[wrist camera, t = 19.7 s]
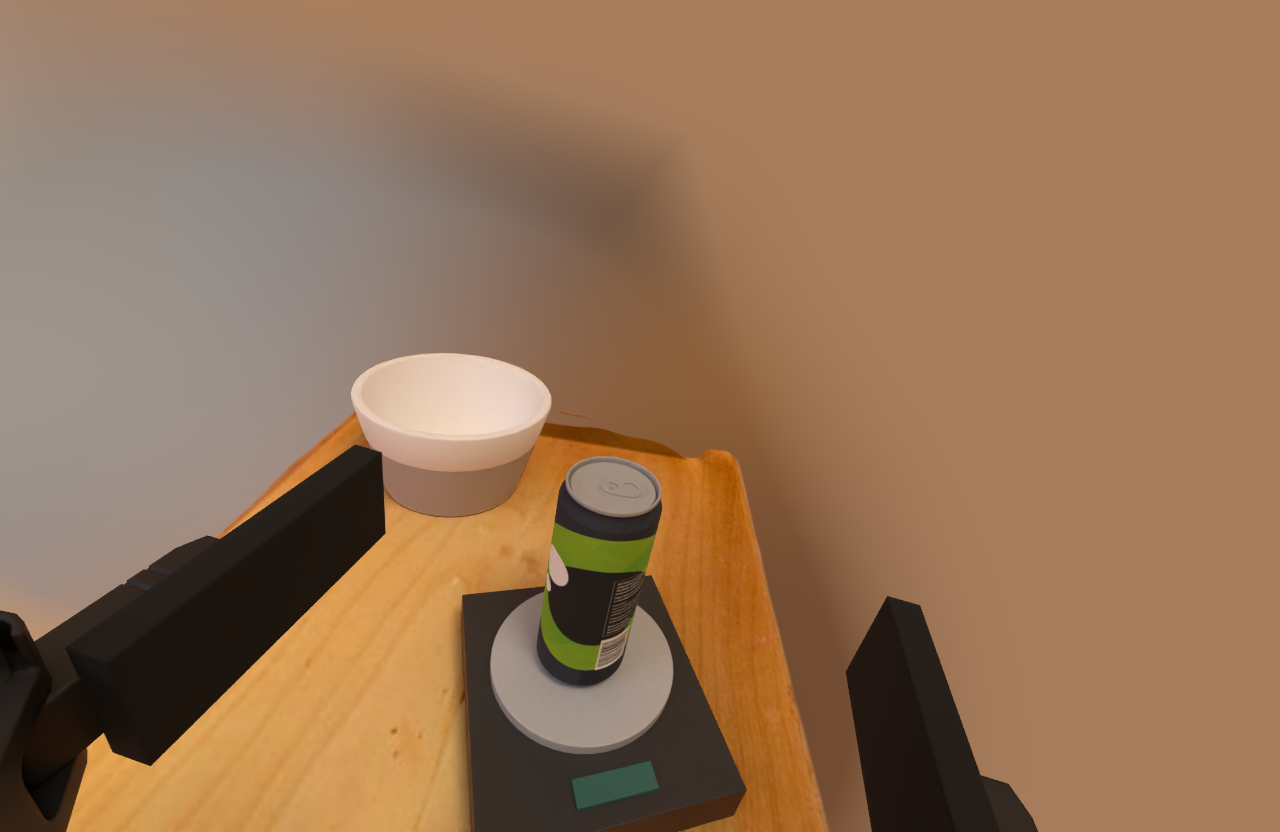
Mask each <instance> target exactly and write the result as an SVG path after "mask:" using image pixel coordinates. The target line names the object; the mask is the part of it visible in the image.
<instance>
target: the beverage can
mask: <svg viewBox="0 0 1280 832" xmlns="http://www.w3.org/2000/svg"><path fill="white" fill-rule="evenodd" d="M661 494H662V490H661V486H660V483H659V481H658V480H657V478H656V477H655V476H654V475H653V474H652V473H651V472H650V471H649V470H647V469H646V468H644V467H643V466H641V465H639V464H637V463H635V462H632V461H630V460H626V459H623V458H618V457H611V456H596V457H590V458H586V459H583V460H580V461H578V462H577V463H575V464H574V465H573V466H571V468H570V469H569V470H568V472H567V475H566V479H565V480H564V482H563V483H562V485H561V487H560V490H559V496H558V503H557V509H556V516H555V523H554V529H553V536H552V543H551V550H550V556H549V563H548V570H547V577H546V583H545V590H544V597H543V604H542V610H541V617H540V624H539V630H538V637H537V653H538V656H539V659H540V661H541V663H542V665H543V666H544V668H545V669H546V670H547V671H548V672H549V673H550V674H551V675H552V676H554V677H555V678H557V679H558V680H560V681H562V682H565V683H568V684H571V685H577V686H587V685H593V684H597V683H600V682H602V681H604V680H606V679H608V678H609V677H610V676H612V675H613V674H614V673H615V672H616V671H617V669H618V668H619V666H620V665H621V663H622V660H623V657H624V653H625V649H626V646H627V642H628V638H629V634H630V630H631V626H632V623H633V619H634V615H635V611H636V607H637V604H638V600H639V596H640V592H641V588H642V585H643V581H644V577H645V573H646V569H647V566H648V562H649V558H650V554H651V550H652V547H653V543H654V539H655V535H656V531H657V528H658V524H659V520H660V516H661V512H662V503H661V499H660V498H661Z"/></svg>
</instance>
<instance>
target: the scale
mask: <svg viewBox="0 0 1280 832" xmlns="http://www.w3.org/2000/svg"><path fill="white" fill-rule="evenodd" d="M544 590H545V586H544V587H535V588H525V589H515V590H506V591H496V592H487V593H477V594H467V595H462V612H461V632H462V653H463V674H464V695H465V716H466V737H467V759H468V780H469V801H470V822H471V832H678V831H682V830H685V829H689V828H692V827H695V826H699V825H702V824H705V823H709V822H712V821H715V820H719V819H722V818H726V817H729V816H732V815H734V813H735V811H736V810H737V808H738V806H739V804H740V802H741V800H742V798H743V796H744V794H745V792H746V787H745V785H744V783H743V780H742V778H741V776H740V774H739V771H738V769H737V767H736V765H735V762H734V760H733V758H732V756H731V753H730V751H729V749H728V747H727V744H726V742H725V740H724V738H723V735H722V733H721V731H720V729H719V726H718V724H717V722H716V720H715V717H714V715H713V713H712V711H711V708H710V706H709V704H708V702H707V699H706V697H705V695H704V693H703V690H702V688H701V686H700V684H699V681H698V679H697V677H696V675H695V672H694V670H693V668H692V666H691V663H690V661H689V659H688V657H687V654H686V652H685V650H684V648H683V645H682V643H681V641H680V639H679V636H678V634H677V632H676V630H675V627H674V625H673V623H672V621H671V618H670V616H669V614H668V612H667V609H666V607H665V605H664V603H663V600H662V598H661V596H660V594H659V591H658V589H657V587H656V585H655V582H654V580H653V578H652V576H651V575H650V576H645V577H644V581H643V585H642V588H641V592H640V596H639V600H638V604H637V607H636V611H635V615H634V619H633V623H632V626H631V630H630V634H629V638H628V642H627V646H626V649H625V653H624V657H623V660H622V663H621V665H620V666H619V668H618V669H617V671H616V672H615V673H614V674H613V675H612V676H610V677H609V678H608V679H606V680H604V681H602V682H600V683H597V684H593V685H587V686H577V685H571V684H568V683H565V682H562V681H560V680H558V679H557V678H555V677H554V676H552V675H551V674H550V673H549V672H548V671H547V670H546V669H545V668H544V666H543V665H542V663H541V661H540V659H539V656H538V653H537V637H538V630H539V624H540V617H541V610H542V604H543V597H544Z"/></svg>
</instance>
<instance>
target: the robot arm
mask: <svg viewBox="0 0 1280 832" xmlns="http://www.w3.org/2000/svg"><path fill="white" fill-rule="evenodd" d="M384 534H385V510H384V488H383V465H382V452H380V451H376V450H372V449H369V448H365V447H362V446H358V445H354V446H353V447H351V448H350V449H348V450H347V451H345V452H344V453H343V454H341V455H340V456H338V457H337V458H335V459H334V460H333V461H331V462H330V463H328V464H327V465H325V466H324V467H323V468H321V469H320V470H318V471H317V472H315V473H314V474H313V475H311V476H310V477H308V478H307V479H305V480H304V481H303V482H301V483H300V484H298V485H297V486H295V487H294V488H292V489H291V490H290V491H288V492H287V493H285V494H284V495H282V496H281V497H280V498H278V499H277V500H275V501H274V502H272V503H271V504H270V505H268V506H267V507H265V508H264V509H262V510H261V511H260V512H258V513H257V514H255V515H254V516H252V517H251V518H250V519H248V520H247V521H245V522H244V523H242V524H241V525H240V526H238V527H237V528H235V529H234V530H232V531H231V532H230V533H228V534H227V535H225V536H224V537H222V538H221V539H217V538H214V537H211V536H205V537H202V538H200V539H197V540H195V541H193V542H190V543H187V544H185V545H183V546H180V547H177V548H175V549H174V550H172V551H171V552H169V553H168V554H167V555H165V556H163V557H162V558H160V559H159V560H157V561H156V562H154V563H153V564H151V565H150V566H149V568H148V569H147V570H142V571H141V572H139V573H138V574H136V575H135V576H133V577H132V578H130V579H128V580H127V583H126V584H124V585H122V584H121V585H119V586H118V587H116V588H115V589H114V590H112V591H110V592H109V593H107V594H106V595H104V596H103V597H101V598H100V599H98V600H97V601H96V602H94V603H92V604H91V605H89V606H88V607H86V608H85V609H83V610H82V611H80V612H79V613H77V614H76V615H74V616H73V617H71V618H70V619H68V620H67V621H65V622H63V623H62V624H61V625H59V626H57V627H56V628H54V629H53V630H51V631H50V632H48V633H47V634H45V635H44V636H42V637H41V638H39V639H38V640H36V641H33V639H32V638H31V636H30V633H29V631H28V629H27V627H26V625H25V623H24V621H23V620H21V618H20V617H19V616H18V615H17V614H14V613H10V612H5V611H0V832H66V830H67V827H68V823H69V820H70V817H71V814H72V810H73V807H74V804H75V800H76V797H77V794H78V791H79V787H80V784H81V781H82V777H83V774H84V771H85V768H86V764H87V748H86V747H88V746H89V745H90V744H91V743H92V742H93V741H95V740H96V739H97V738H98V737H99V736H100V735H101V734H103V733H104V734H105V736H106V738H107V741H108V743H109V745H110V747H111V749H112V752H113V753H116V754H119V755H121V756H124V757H127V758H130V759H132V760H135V761H138V762H141V763H143V764H146V765H149V766H151V765H152V764H153V763H154V762H155V761H156V760H157V759H158V758H159V757H160V756H161V755H162V754H163V753H164V752H165V751H166V750H167V749H168V748H169V747H170V746H171V745H172V744H173V743H175V742H176V741H177V740H178V739H179V738H180V737H181V736H182V735H183V734H184V733H185V732H186V731H187V730H188V729H189V728H190V727H191V726H192V725H193V724H194V723H195V722H196V721H197V720H198V719H199V718H200V717H201V716H202V715H203V714H204V713H205V712H206V711H207V710H208V709H209V708H210V707H211V706H212V705H213V704H214V703H215V702H216V701H217V700H218V699H219V698H220V697H221V696H222V695H223V694H224V693H225V692H226V691H227V690H228V689H229V688H230V687H231V686H232V685H233V684H234V683H235V682H236V681H237V680H238V679H239V678H240V677H241V676H242V675H243V674H244V673H245V672H246V671H247V670H248V669H249V668H250V667H251V666H252V665H253V664H254V663H255V662H256V661H257V660H258V659H259V658H260V657H261V656H262V655H263V654H264V653H265V652H266V651H267V650H268V649H269V648H270V647H271V646H272V645H273V644H274V643H275V642H276V641H277V640H278V639H279V638H280V637H281V636H282V635H283V634H284V633H285V632H286V631H288V630H289V629H290V628H291V627H292V626H293V625H294V624H295V623H296V622H297V621H298V620H299V619H300V618H301V617H302V616H303V615H304V614H305V613H306V612H307V611H308V610H309V609H310V608H311V607H312V606H313V605H314V604H315V603H316V602H317V601H318V600H319V599H320V598H321V597H322V596H323V595H324V594H325V593H326V592H327V591H328V590H329V589H330V588H331V587H332V586H333V585H334V584H335V583H336V582H337V581H338V580H339V579H340V578H341V577H342V576H343V575H344V574H345V573H346V572H347V571H348V570H349V569H350V568H351V567H352V566H353V565H354V564H355V563H356V562H357V561H358V560H359V559H360V558H361V557H362V556H363V555H364V554H365V553H366V552H367V551H368V550H369V549H370V548H371V547H372V546H373V545H374V544H375V543H376V542H377V541H378V540H379V539H380V538H381V537H382V536H383V535H384ZM846 676H847V682H848V688H849V695H850V701H851V706H852V713H853V719H854V725H855V731H856V737H857V743H858V749H859V755H860V762H861V767H862V774H863V780H864V786H865V792H866V798H867V804H868V810H869V816H870V823H871V829H872V832H1038V830H1037V828H1036V826H1035V823H1034V821H1033V818H1032V817H1031V815H1030V814H1029V812H1028V811H1027V809H1026V808H1025V807H1024V805H1023V804H1022V803H1021V801H1020V800H1019V798H1018V797H1017V795H1016V794H1015V793H1014V791H1013V790H1012V788H1011V787H1010V786H1009V784H1007V783H1004V782H1000V781H998V780H994V779H991V778H988V777H985V776H981V775H980V773H979V770H978V767H977V764H976V761H975V759H974V756H973V753H972V750H971V747H970V745H969V742H968V739H967V736H966V733H965V730H964V728H963V725H962V722H961V719H960V716H959V714H958V711H957V708H956V705H955V702H954V700H953V697H952V694H951V691H950V688H949V685H948V683H947V680H946V677H945V674H944V672H943V669H942V666H941V663H940V660H939V657H938V654H937V652H936V649H935V646H934V643H933V640H932V638H931V635H930V633H929V629H928V627H927V624H926V621H925V618H924V615H923V612H922V609H921V607H920V605H917V604H913V603H910V602H906V601H903V600H899V599H896V598H892V597H889V596H887V598H886V599H885V601H884V603H883V605H882V607H881V609H880V610H879V612H878V614H877V616H876V618H875V619H874V622H873V623H872V625H871V627H870V629H869V630H868V632H867V634H866V636H865V638H864V640H863V641H862V643H861V645H860V647H859V649H858V650H857V652H856V654H855V656H854V658H853V659H852V661H851V663H850V665H849V667H848V669H847V670H846Z"/></svg>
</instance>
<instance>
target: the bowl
mask: <svg viewBox="0 0 1280 832" xmlns="http://www.w3.org/2000/svg"><path fill="white" fill-rule="evenodd" d="M351 399H352V403H353V406H354V409H355V411H356V414H357V416H358V419H359V422H360V424H361V427H362V429H363V432H364V435H365V437H366V439H367V441H368V444H369V446H370V449H372V450H376V451H380V452H382V465H383V483H384V485H385V488H386V490H387V492H388V493H389V495H390V496H391V497H392V498H393V499H394V500H395V501H396V502H398V503H399V504H400V505H402V506H404V507H406V508H408V509H410V510H413V511H416V512H419V513H422V514H427V515H433V516H444V517H456V516H467V515H472V514H477V513H481V512H484V511H487V510H490V509H492V508H494V507H496V506H498V505H500V504H502V503H503V502H504V501H506V500H507V499H508V498H509V497H510V496H511V495H512V494H513V493H514V491H515V490H516V488H517V485H518V483H519V481H520V478H521V476H522V474H523V471H524V469H525V467H526V464H527V462H528V459H529V457H530V455H531V452H532V450H533V448H534V445H535V444H536V442H537V439H538V437H539V435H540V432H541V430H542V428H543V425H544V423H545V420H546V418H547V416H548V413H549V411H550V408H551V406H552V403H551V395H550V393H549V391H548V389H547V387H546V386H545V385H544V384H543V383H542V382H541V381H540V380H539V379H538V378H537V377H535V376H534V375H533V374H531V373H529V372H527V371H525V370H523V369H522V368H519V367H517V366H514V365H512V364H509V363H506V362H503V361H499V360H495V359H492V358H486V357H481V356H475V355H466V354H453V353H433V354H421V355H412V356H406V357H401V358H396V359H393V360H390V361H387V362H384V363H381V364H378V365H377V366H374V367H372V368H370V369H368V370H367V371H366V372H364V373H363V374H362V375H361V376H359V377H358V379H357V380H356V382H355V383H354V385H353V387H352V391H351Z"/></svg>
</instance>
